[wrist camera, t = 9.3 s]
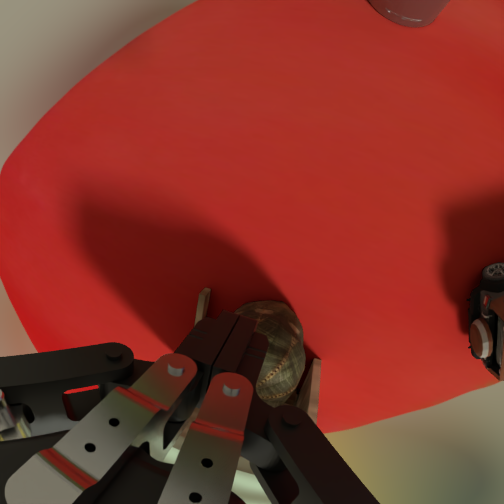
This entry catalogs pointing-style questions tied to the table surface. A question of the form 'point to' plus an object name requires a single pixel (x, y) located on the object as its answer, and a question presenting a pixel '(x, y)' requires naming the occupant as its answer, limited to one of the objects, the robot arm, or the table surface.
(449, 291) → the table surface
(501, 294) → the toy car
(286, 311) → the shell
